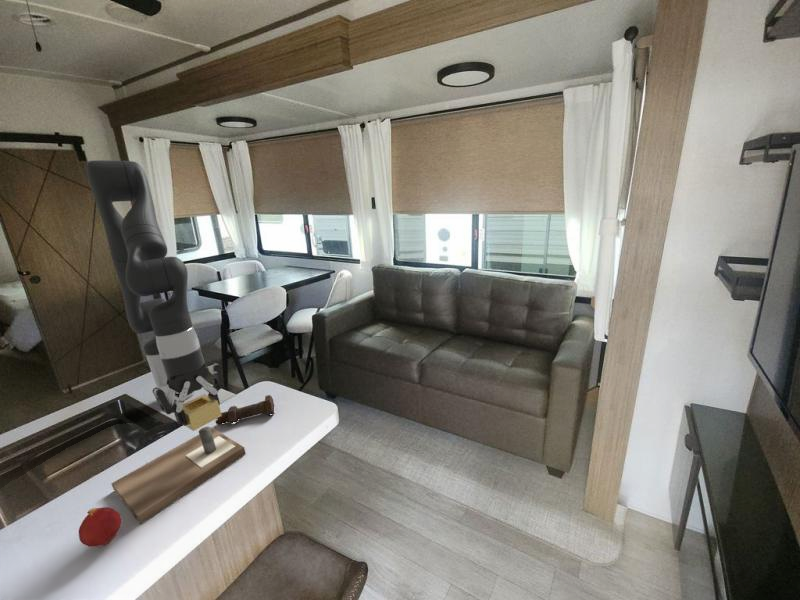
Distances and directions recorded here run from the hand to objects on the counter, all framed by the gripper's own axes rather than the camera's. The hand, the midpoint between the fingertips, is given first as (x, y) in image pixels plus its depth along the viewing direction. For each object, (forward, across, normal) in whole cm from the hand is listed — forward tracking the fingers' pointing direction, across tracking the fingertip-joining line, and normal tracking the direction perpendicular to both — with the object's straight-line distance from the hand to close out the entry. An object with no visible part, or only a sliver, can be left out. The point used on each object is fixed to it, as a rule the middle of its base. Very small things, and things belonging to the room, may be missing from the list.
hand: (200, 416), depth 81 cm
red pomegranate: (+12, +22, +5) cm, 26 cm away
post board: (+12, +6, -2) cm, 13 cm away
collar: (+1, 0, 0) cm, 1 cm away
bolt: (+12, -14, -8) cm, 20 cm away
